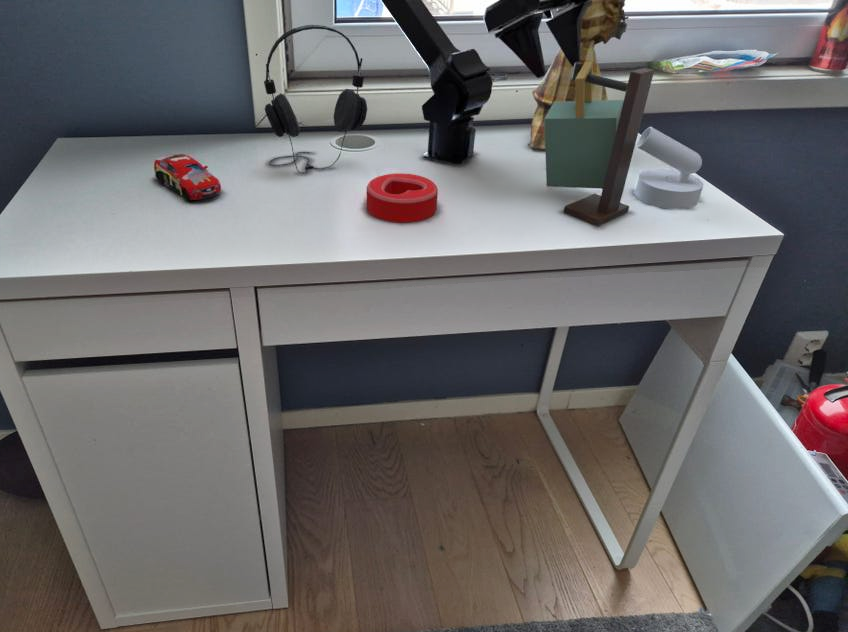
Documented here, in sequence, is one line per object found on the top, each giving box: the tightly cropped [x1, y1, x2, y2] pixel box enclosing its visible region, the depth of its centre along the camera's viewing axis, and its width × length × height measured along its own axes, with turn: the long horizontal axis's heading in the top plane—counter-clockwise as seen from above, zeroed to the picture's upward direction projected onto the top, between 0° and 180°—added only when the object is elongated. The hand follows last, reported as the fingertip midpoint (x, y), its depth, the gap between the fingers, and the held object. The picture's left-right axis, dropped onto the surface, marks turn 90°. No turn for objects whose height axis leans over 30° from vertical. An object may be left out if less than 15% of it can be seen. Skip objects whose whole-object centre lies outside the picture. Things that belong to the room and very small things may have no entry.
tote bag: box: [544, 62, 624, 190], centre depth 87 cm, size 9×5×15 cm, turn 63°
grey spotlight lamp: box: [634, 126, 704, 210], centre depth 91 cm, size 9×10×10 cm
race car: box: [153, 153, 222, 202], centre depth 93 cm, size 13×5×4 cm, turn 39°
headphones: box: [263, 24, 368, 174], centre depth 97 cm, size 15×11×20 cm
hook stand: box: [562, 62, 655, 228], centre depth 85 cm, size 10×7×19 cm
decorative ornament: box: [365, 172, 439, 224], centre depth 89 cm, size 10×10×3 cm
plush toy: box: [527, 0, 630, 150], centre depth 106 cm, size 14×14×25 cm
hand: (559, 70), depth 88 cm, fingers open, 9 cm apart
